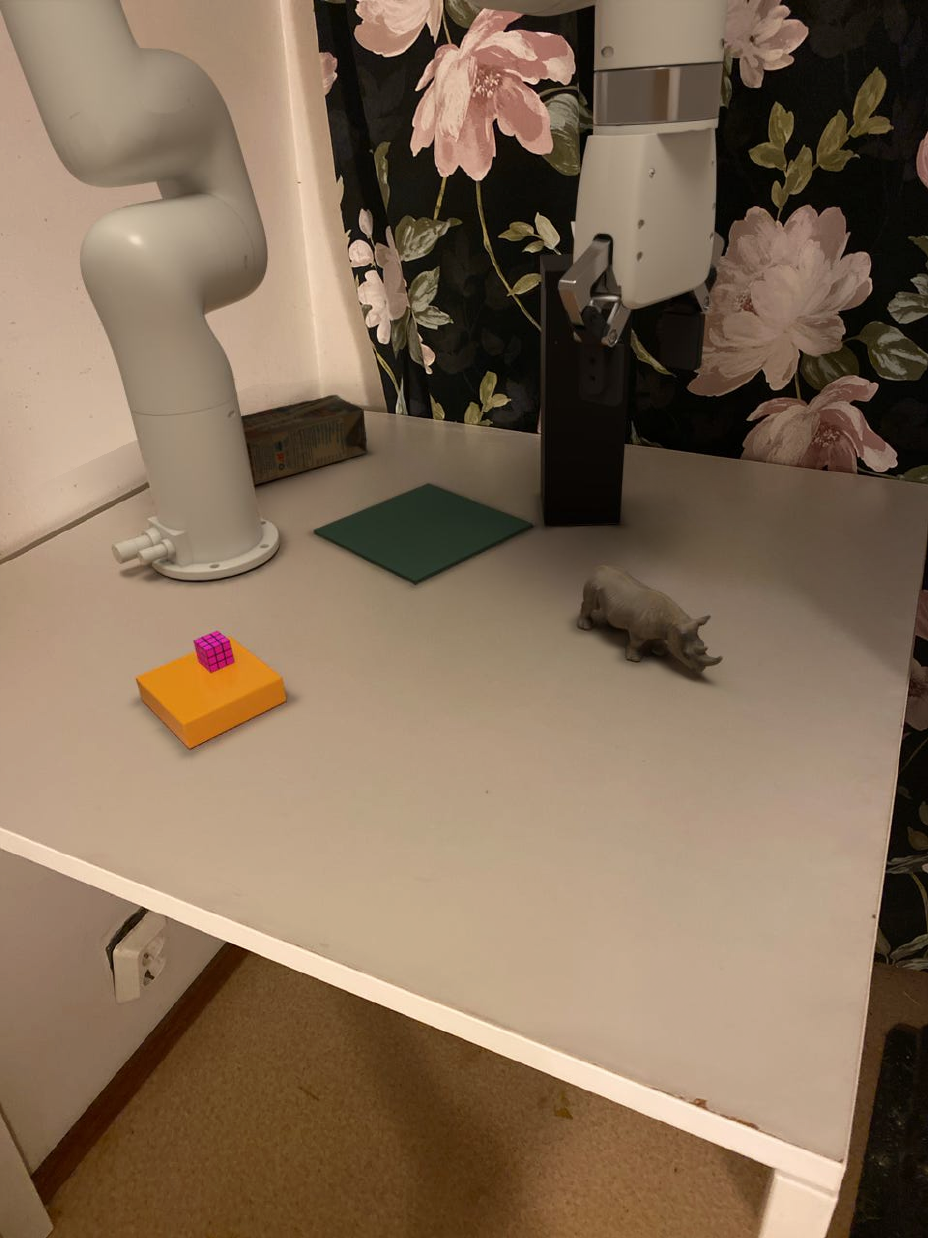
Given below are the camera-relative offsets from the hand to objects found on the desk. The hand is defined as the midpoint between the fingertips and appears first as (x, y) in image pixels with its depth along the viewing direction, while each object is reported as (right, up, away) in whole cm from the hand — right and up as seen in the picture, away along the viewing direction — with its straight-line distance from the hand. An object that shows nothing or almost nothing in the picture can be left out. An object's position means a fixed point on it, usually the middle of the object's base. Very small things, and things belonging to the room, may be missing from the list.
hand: (642, 383), depth 61 cm
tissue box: (-1, -5, +30) cm, 30 cm away
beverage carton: (-34, +2, +45) cm, 56 cm away
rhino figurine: (+2, -20, +7) cm, 21 cm away
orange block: (-32, -23, +4) cm, 39 cm away
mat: (-17, -8, +28) cm, 33 cm away
